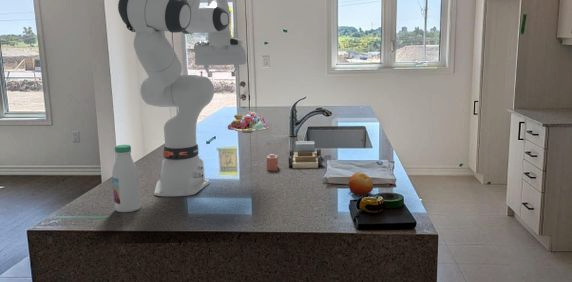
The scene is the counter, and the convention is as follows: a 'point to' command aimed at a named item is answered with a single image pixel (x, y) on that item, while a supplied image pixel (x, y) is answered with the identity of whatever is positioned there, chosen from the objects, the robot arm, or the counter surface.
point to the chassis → (305, 155)
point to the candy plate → (248, 122)
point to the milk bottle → (125, 181)
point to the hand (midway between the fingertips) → (221, 76)
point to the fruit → (360, 184)
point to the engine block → (272, 162)
